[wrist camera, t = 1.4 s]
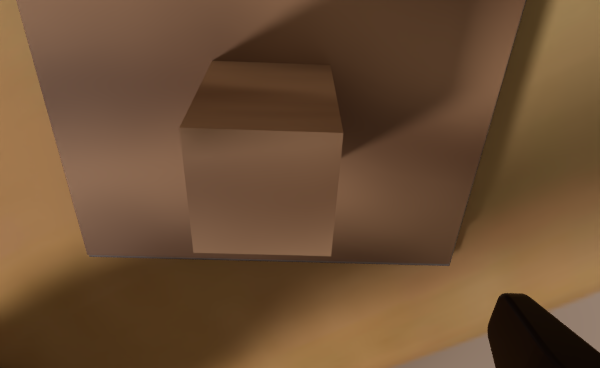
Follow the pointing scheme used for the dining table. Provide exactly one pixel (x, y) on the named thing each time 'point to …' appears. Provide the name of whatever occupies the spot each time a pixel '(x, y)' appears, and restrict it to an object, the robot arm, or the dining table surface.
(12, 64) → the dining table surface
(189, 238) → the lid
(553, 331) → the robot arm
